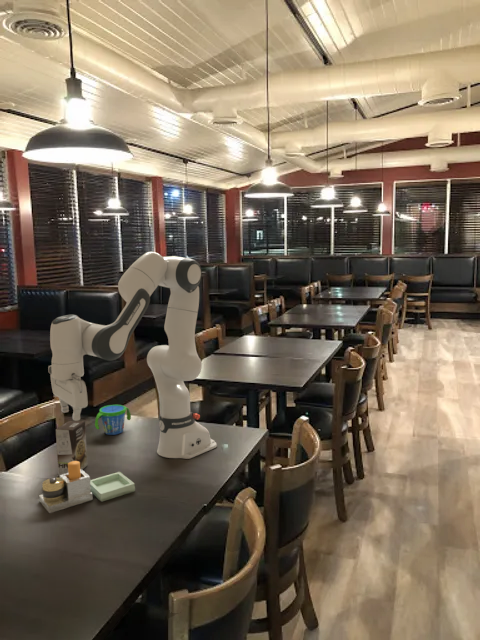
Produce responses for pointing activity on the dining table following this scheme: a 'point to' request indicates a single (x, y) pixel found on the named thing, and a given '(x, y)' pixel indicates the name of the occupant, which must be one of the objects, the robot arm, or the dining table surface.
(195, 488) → the dining table surface
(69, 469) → the pin
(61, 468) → the coffee box
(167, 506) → the dining table surface
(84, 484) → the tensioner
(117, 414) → the snack cup
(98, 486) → the tray
